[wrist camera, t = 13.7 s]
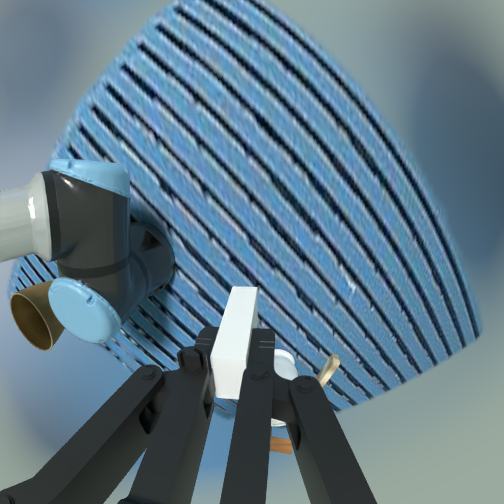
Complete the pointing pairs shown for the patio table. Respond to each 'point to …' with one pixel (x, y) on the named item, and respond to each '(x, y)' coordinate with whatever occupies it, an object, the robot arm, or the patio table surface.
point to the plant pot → (36, 316)
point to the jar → (283, 372)
